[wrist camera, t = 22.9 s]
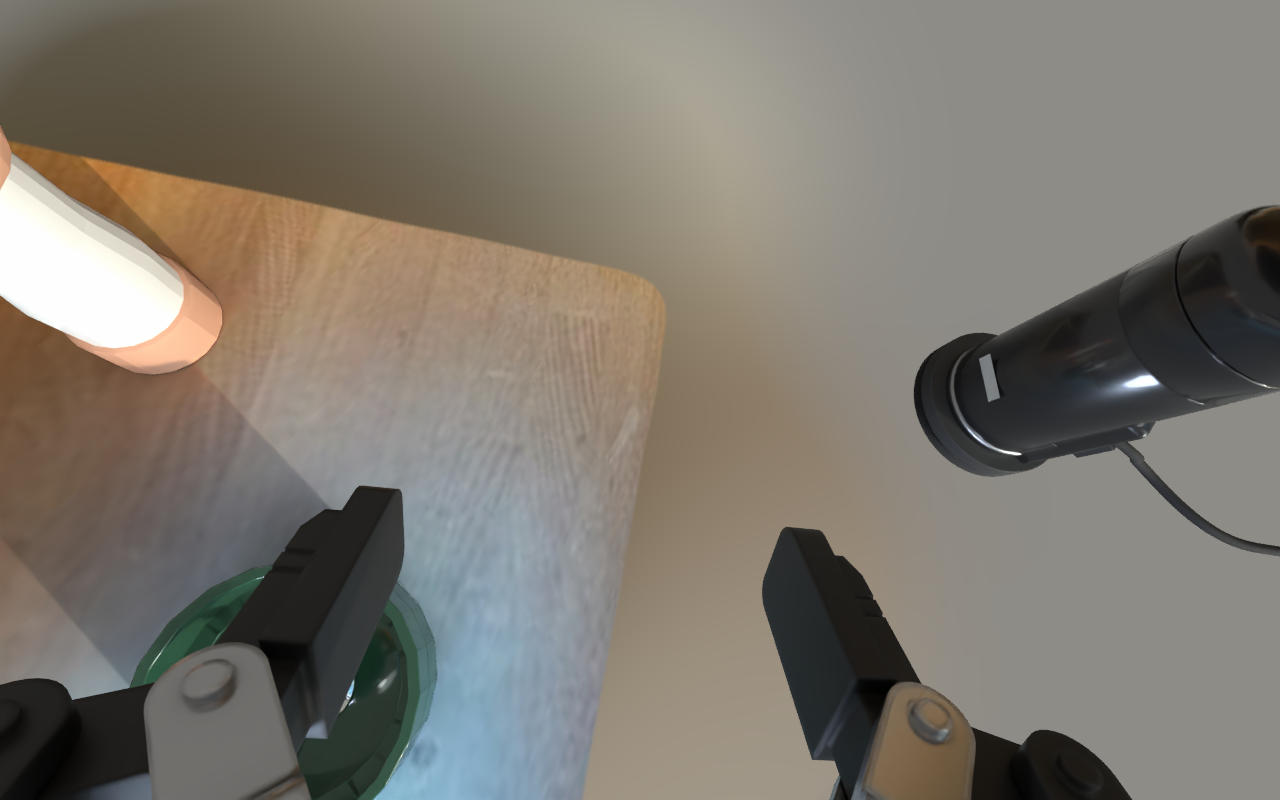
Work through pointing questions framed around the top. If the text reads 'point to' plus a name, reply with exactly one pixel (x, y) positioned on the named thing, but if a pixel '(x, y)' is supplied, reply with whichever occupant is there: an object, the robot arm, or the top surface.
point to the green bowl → (378, 711)
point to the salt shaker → (97, 278)
